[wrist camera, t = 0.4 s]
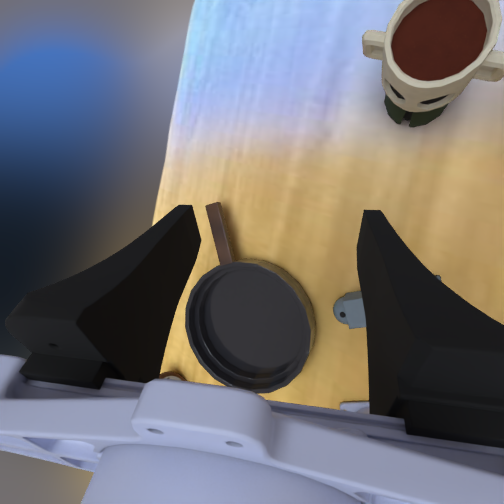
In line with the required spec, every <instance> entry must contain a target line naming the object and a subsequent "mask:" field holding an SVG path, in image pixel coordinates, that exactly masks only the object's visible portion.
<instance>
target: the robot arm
mask: <svg viewBox="0 0 504 504" xmlns="http://www.w3.org/2000/svg"><path fill="white" fill-rule="evenodd" d="M200 244H201V237H200V233H199V229H198V226H197V222H196V218H195V214H194V211H193V207H192V205H178V206H177V207H175V208H174V209H173V210H172V211H170V212H169V213H168V214H167V215H166V216H164V217H163V218H162V219H161V220H160V221H158V222H157V223H156V224H155V225H153V226H152V227H151V228H150V229H149V230H147V231H146V232H145V233H144V234H142V235H141V236H139V238H137V239H135V240H134V241H133V242H132V243H130V244H129V245H127V246H126V247H124V248H123V249H121V250H120V251H118V252H117V253H115V254H113V255H112V256H110V257H109V258H107V259H105V260H103V261H102V262H100V263H98V264H96V265H94V266H92V267H90V268H88V269H86V270H84V271H82V272H80V273H78V274H76V275H74V276H71V277H69V278H67V279H64V280H62V281H59V282H57V283H55V284H52V285H49V286H46V287H44V288H41V289H38V290H36V291H32V292H29V293H27V295H26V296H25V297H24V298H23V300H22V301H21V302H20V303H19V304H18V306H17V307H16V308H15V309H14V310H13V311H12V313H11V314H10V315H9V316H8V317H7V319H6V320H5V325H6V328H7V329H8V331H9V332H10V333H11V334H12V335H13V336H14V337H15V338H16V339H17V340H18V341H19V342H20V343H22V344H23V345H24V346H25V347H26V348H27V349H29V350H30V351H31V352H32V354H31V355H30V357H29V358H28V360H26V359H23V358H20V357H17V356H9V355H2V354H0V450H2V451H7V452H12V453H17V454H21V455H25V456H30V457H34V458H38V459H42V460H46V461H51V462H55V463H59V464H63V465H67V466H71V467H75V468H79V469H83V470H87V471H91V472H94V475H93V477H92V479H91V481H90V484H89V486H88V488H87V490H86V493H85V495H84V497H83V500H82V502H81V504H504V325H502V324H501V323H499V322H497V321H496V320H494V319H492V318H491V317H489V316H487V315H486V314H484V313H483V312H481V311H480V310H478V309H477V308H475V307H474V306H472V305H471V304H470V303H468V302H467V301H465V300H464V299H463V298H461V297H460V296H459V295H457V294H456V293H455V292H454V291H452V290H451V289H450V288H448V287H447V286H446V285H445V284H444V283H442V282H441V281H440V280H439V279H438V278H437V277H436V276H435V275H433V274H432V273H431V272H430V271H429V270H428V269H427V268H426V267H425V266H424V265H423V264H422V263H421V262H420V261H419V260H418V259H417V257H416V256H415V255H414V254H413V253H412V252H411V251H410V249H409V248H408V247H407V246H406V245H405V243H404V242H403V241H402V240H401V238H400V237H399V236H398V234H397V233H396V232H395V230H394V229H393V227H392V226H391V225H390V223H389V222H388V220H387V219H386V217H385V216H384V214H383V213H382V212H381V211H380V210H364V213H363V218H362V223H361V228H360V233H359V238H358V243H357V270H358V276H359V282H360V288H361V294H362V300H363V306H364V311H365V318H366V329H367V347H368V371H369V401H363V402H342V403H341V404H340V410H336V409H329V408H322V407H315V406H307V405H300V404H293V403H285V402H278V401H271V400H265V399H264V397H262V396H260V395H258V394H256V393H254V392H252V391H247V390H243V389H239V388H234V387H226V386H219V385H211V384H203V383H196V382H188V381H181V380H173V379H159V375H160V370H161V365H162V361H163V357H164V352H165V348H166V344H167V340H168V336H169V333H170V329H171V325H172V322H173V318H174V315H175V311H176V308H177V305H178V303H179V300H180V297H181V295H182V293H183V290H184V288H185V286H186V283H187V281H188V279H189V276H190V274H191V271H192V269H193V267H194V264H195V262H196V259H197V255H198V252H199V248H200ZM344 409H345V410H346V411H344Z"/></svg>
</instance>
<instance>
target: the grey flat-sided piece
mask: <svg viewBox="0 0 504 504" xmlns="http://www.w3.org/2000/svg"><path fill="white" fill-rule="evenodd" d="M436 277H437V278H438V279H439V280H440V281H441V277H440V276H439V275H436ZM333 312H334V315H335V317H336V319H337V320H338V321H340V322H341V323H343V324H348V325H349V329H353V328H361V327H366V318H365V311H364V306H363V300H362V294H361V291H357V292H351V293H346V294H345V297H342V298H340V299H338V300H337V301H336V302H335V304H334V307H333Z"/></svg>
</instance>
